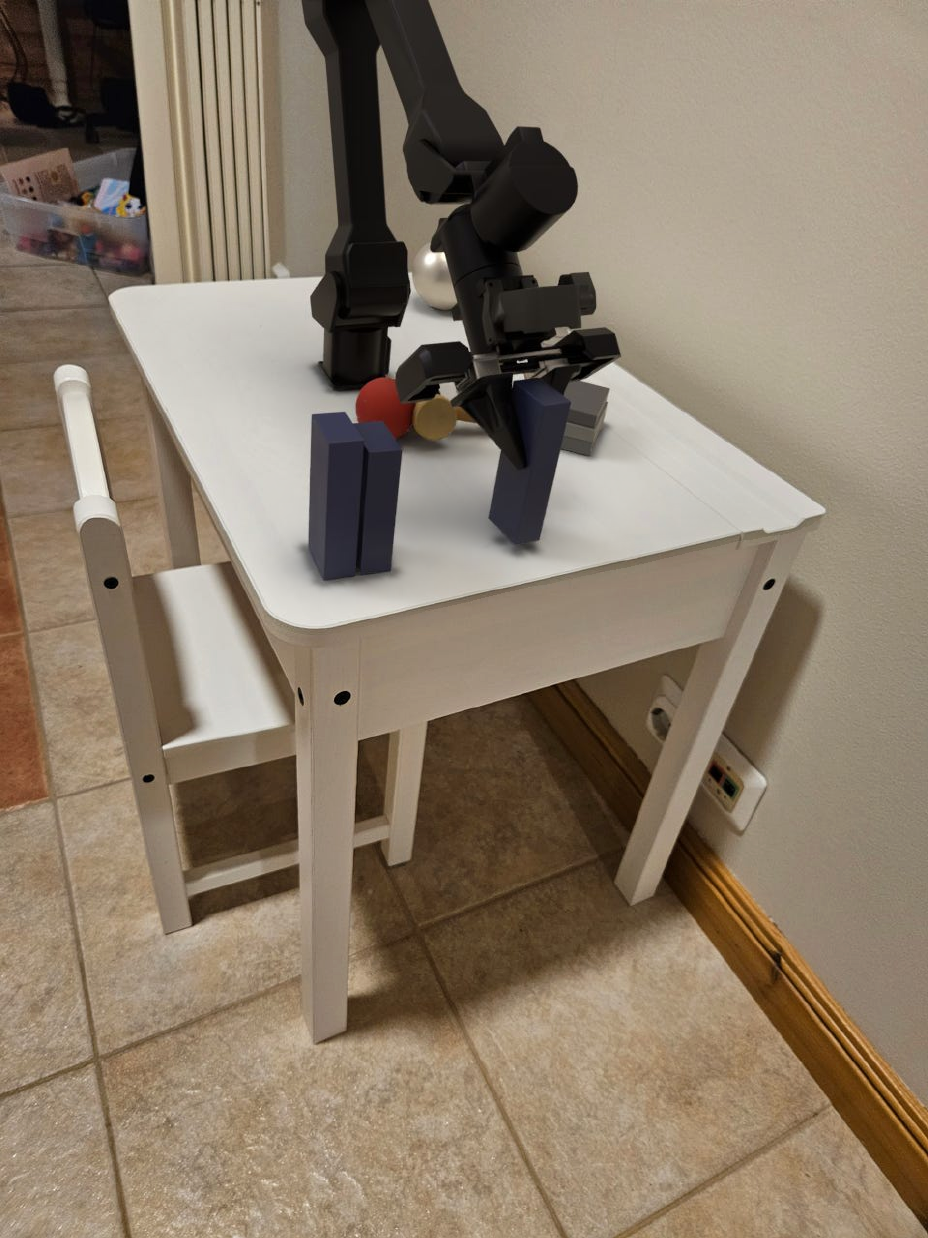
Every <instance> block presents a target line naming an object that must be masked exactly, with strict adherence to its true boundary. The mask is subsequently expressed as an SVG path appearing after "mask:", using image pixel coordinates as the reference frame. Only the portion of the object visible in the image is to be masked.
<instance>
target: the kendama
mask: <svg viewBox="0 0 928 1238" xmlns="http://www.w3.org/2000/svg"><path fill="white" fill-rule="evenodd" d="M450 400H451V399H449V398H447V397H446V396H444V395H442V394H441V391H440V389H439V391H438V392H437V394H436V396H435V398H433V399H432V400H428V401H421V402H413V403H405V404H403V403H401V402H400V400H399V396H398V393H397V389H396V385H395V378H393V377H387V376H386V377H383V378H377V379H374V380H372V381H370V382H368V383H367V384H366V385H365V386H364V387H363V388H360V390H359V392H358V394H357V397H356V400H355V405H354V406H355V408H354V409H355V410H354V411H355V417H356V420H357V423H363V422H377V421H383V422H384V424H385V425H386V427H387V428H388V429H389V431H390V432H391V434H392V435H393V437H394V438H395V439H396V440H397V439H398V438H401V437H402V436H404V435H406V434H408V433H410V432H413V431H415V432H416V433H417V434H418V435H419V436H421V437H422V438H424V439H425V440H428V441H440V440H443V439H445V438H447V437H448V436H449V435H450V434H451V433H452V432H454V429H455V427H456V425H457V422H458V421H460V422H465V423H470V424H471V423H472V424H477V423H476V422H475V421H474V420H473V419H472V418H471V417H470V416H469V415H468V414H467V413H466V412H465V411H464V410H463V409H462V408H461V407H452V406H451V403H450ZM412 426H413V428H412V429H411V427H412Z"/></svg>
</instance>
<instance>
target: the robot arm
mask: <svg viewBox="0 0 928 1238" xmlns="http://www.w3.org/2000/svg"><path fill="white" fill-rule="evenodd" d="M301 6H302V7H301V8H302V13H303V22H304V26H305V27H306V29H307V30H308V32H309V34H310V35H311V37H312V39H313V41H314V42H315V44H316V45H317V47H318V49H319V51H320V52H321V54H322V56H323V58H324V63H325V76H326V88H327V90H326V91H327V100H328V101H327V103H328V113H329V125H330V137H331V152H332V163H333V177H334V187H335V188H334V189H335V199H336V201H335V202H336V213H337V228H336V229H335V232H334V234H333V236H332V238H331V241H330V243H329V245H328V247H327V249H326V252H325V254H324V275H323V276H322V277H321V280H320V281H319V282H318V284H317V285H316V287H315V288H314V290H313V292H312V293H311V294H310V295H309V296H310V298H309V301H310V310H311V317H312V319H313V320H315V321H316V322H317V323H318V324H319V325H320V326H321V327H322V328H323V345H322V346H323V347H322V349H323V350H322V360H318V361H317V367H318V368H319V371H320V372H321V374H322V375H323V376H324V377H325V379H326V380H327V382H328V383H329V385H330V386H331V388H332V389H333V390H353V389H362V388H363V387H364V386H365V385H366V384H367V383H368V382H370V381H372V380H374V379H377V378H383V377H387V376H388V374H389V373H390V364H391V352H392V342H393V341H392V338H391V337H390V336H389V328H401V326H402V323H403V320H404V316H405V313H406V310H407V307H408V303H409V300H410V297H411V292H412V289H411V280H410V276H409V275H410V274H409V268H408V266H409V263H408V260H409V258H408V255H409V254H408V253H409V251H408V248H407V246H406V243H405V241H403V240H397V238H396V237H395V235H394V233H393V232H392V230H391V228H390V227H389V226H388V225H389V224H388V221H387V209H386V207H387V205H386V192H385V191H386V189H385V176H384V175H385V173H384V157H383V156H384V155H383V141H382V124H381V109H380V95H379V94H380V91H379V90H380V89H379V76H378V75H379V74H378V73H379V72H378V53H379V49H380V47H381V49H382V53H383V55H384V57H385V60H386V63H387V66H388V68H389V72H390V74H391V77H392V80H393V82H394V85H395V89H396V91H397V93H398V96H399V98H400V101H401V105H402V107H403V110H404V114H405V118H406V122H407V125H408V126H407V129H406V134H405V136H404V141H403V145H402V154H403V157H404V160H405V161H404V162H405V164H406V165H405V168H406V174H407V179H408V183H409V184H410V186H411V188H412V191H413V193H414V195H415V196H416V198H417V199H418V201H420V203H424V204H427V205H430V206H434V205H435V206H436V205H437V206H440V205H445V206H446V205H447V206H448V205H449V206H450V205H454V206H455V205H459V206H457V207H456V208H454V210H453V211H451V213H450V214H449V215H448V216H447V217H440V218H439V219H438V222H437V228H436V230H435V231H434V234H433V235H432V237H431V239H430V242H431V245H430V250H431V252H433V253H441V252H444V254H445V258H446V262H447V265H448V269H449V273H450V277H451V281H452V284H453V288H454V292H455V296H456V299H457V303H456V304H455V305H454V306H453V307H452V308H451V309H450V310H449V311H450V313H451V318H452V321H453V322H460V321H461V322H462V325H463V329H464V333H465V336H466V340H467V344H468V346H467V345H465V344H464V343H463V342H462V341H460V340H457V341H446V342H445V341H444V342H436V343H435V342H434V343H425V344H420V345H419V347H417V348H416V349H415V350H414V351H413V352H412V353H411V354H410V355H409V356H408V357H407V358H406V359H405V360H404V361H403V362H402V363H401V364H400V365H399V366H398V367H397V370H395V371H396V372H395V376H394V379H395V385H396V389H397V393H398V396H399V400H400V402H401V403H403V404H405V403H413V402H421V401H428V400H432V399H433V398H435V396H436V394H437V392H438V391H439V390H440V389H441V384H449V383H453V384H454V387H455V391H456V395H455V396H454V397H453V398H451V399H449V400H450V403H451V406H452V407H461V408H462V409H463V410H464V411H465V412H466V413H467V414H468V415H469V416H470V417H471V418H472V419H473V420H474V421H475V422H476V423H475V424H477V425H478V426H479V427H480V428H481V429H482V430H483V431H484V432H485V433H486V434H487V436H488V437H489V438H490V440H492V442H493V444H495V445H496V446H497V448H498V449H499V450H500V451H502V452H503V454H504V455H505V456H506V457H507V458H508V460H509V461H510V462H511V463H512V464H513V466H514V467H515V468H516V469H517V470H522V469H524V468H526V467H527V461H526V454H525V449H524V444H523V441H522V437H521V433H520V430H519V426H518V423H517V419H516V415H515V412H514V408H513V404H512V400H511V393H512V386H513V381H514V376H515V375H523V379H531V378H541V379H542V380H544V381H545V382H546V383H547V384H549V385H550V386H551V387H553V388H554V389H555V390H557V391H558V392H559V393H560V394H562V395H563V396H564V393H565V390H566V388H567V386H568V383H569V382H575V381H584V380H586V379H588V378H590V377H591V376H593V375H595V374H596V373H598V372H599V371H601V370H602V369H604V368H606V367H608V366H609V365H610V364H612V363H614V362H615V361H617V360H618V359H620V358H622V353H621V349H620V346H619V345H620V344H619V342H618V338H617V335H616V333H615V332H614V331H612V330H611V329H610V328H607V327H606V326H604V327H603V326H602V327H593V328H592V327H591V328H582V317H584V316H592V315H594V314H595V312H596V310H597V306H598V305H597V291H596V288H595V286H594V282H593V280H592V277H591V274H590V271H579V272H578V271H577V272H570V273H562V274H560V275H559V277H558V282H557V283H558V286H554V285H547V286H546V285H545V286H539V281H538V280H537V278H536V277H535V276H534V274H524V273H523V270H522V266H521V262H520V258H519V255H518V253H521V252H523V251H527V250H528V249H530V248H531V247H532V246H533V245H534V244H536V242H537V241H538V240H539V239H540V238H541V237H542V236H543V235H545V234H546V232H548V231H549V230H550V229H551V228H552V227H553V226H554V225H555V224H556V223H557V222H558V221H559V220H560V219H561V218H562V217H563V216H564V215H565V214H567V212H568V211H569V210H570V209H572V207H573V205H574V204H575V203H576V200H577V198H578V194H579V182H578V176H577V173H576V171H575V168H574V167H573V166H571V165H570V163H569V161H568V159H567V158H566V157H565V156H564V155H563V153H562V152H561V151H559V150H558V148H556V147H555V146H553V145H552V144H550V143H549V142H547V141H545V140H544V136H543V133H542V128H541V127H539V126H522V125H519V126H516V127H515V128H514V129H513V131H511V133H510V134H509V136H508V137H507V140H506V141H505V143H504V140H503V138H502V137H501V135H500V132H499V131H498V129H497V127H496V126H495V123H494V121H493V120H492V118H491V117H490V114H489V113H488V111H487V110H486V109H485V108H484V107H483V106H482V105H480V104H479V103H478V102H477V101H476V100H474V99H473V98H472V97H471V96H470V95H468V94H467V93H466V92H465V90H464V88H463V87H462V84H461V83H460V80H459V78H458V75H457V72H456V69H455V66H454V64H453V61H452V59H451V56H450V54H449V51H448V48H447V46H446V42H445V40H444V38H443V35H442V31H441V29H440V27H439V24H438V21H437V19H436V16H435V13H434V10H433V9H432V5H431V3H430V0H301ZM560 327H567V328H568V329H569V330H571V332H569V334H568V335H567V336H565V337H564V338H562V339H561V340H560V341H558V342H557V343H556V344H554V345H553V346H551V347H542V345H541V343H542V342H543V341H547V340H550V339H551V338H553V337H554V336H555V335H557V334H556V330H555V328H560Z"/></svg>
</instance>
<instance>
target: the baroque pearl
mask: <svg viewBox="0 0 928 1238" xmlns="http://www.w3.org/2000/svg"><path fill="white" fill-rule="evenodd" d="M430 245H431V241H429V242H428V243H426V244H425V245H423V246H422V248H421V249H420V250H419V251H418V252H417V254H416V255H415V258H414V261H413V263H412V268H411V279H412V284H413V287H414V290H415V292H416V294H417V295H418V297H419V298H420V299H421V300H422V301H423V302H424V303H425V304H427V305H428V306H429V307H432V308H434V309H438V310H443V311H445V310H446V311H447V310H448V311H451V310H450V309H451V308H452V307H453V306H454V305H455V304H456V303H457V299H456V296H455V292H454V288H453V284H452V281H451V277H450V273H449V269H448V265H447V262H446V258H445V254H444V252H441V253H433V252H431V250H430Z"/></svg>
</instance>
